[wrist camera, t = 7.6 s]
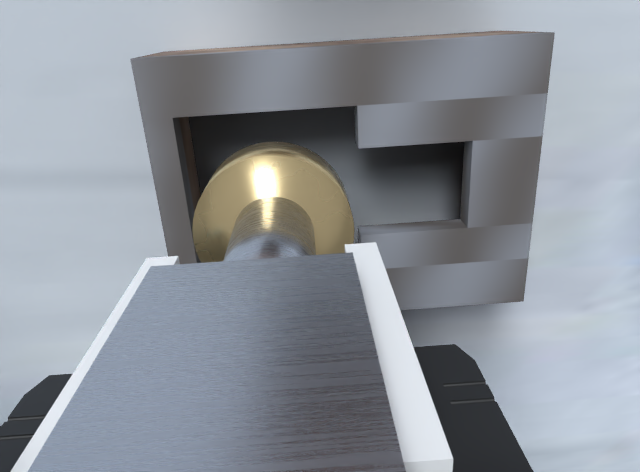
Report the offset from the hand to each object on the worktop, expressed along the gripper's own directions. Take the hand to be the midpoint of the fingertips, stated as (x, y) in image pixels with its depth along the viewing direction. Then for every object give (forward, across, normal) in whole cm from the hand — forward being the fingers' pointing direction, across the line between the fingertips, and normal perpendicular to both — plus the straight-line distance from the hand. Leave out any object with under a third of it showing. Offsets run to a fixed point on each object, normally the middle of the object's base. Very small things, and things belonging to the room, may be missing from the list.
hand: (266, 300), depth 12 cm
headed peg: (+6, 0, 0) cm, 6 cm away
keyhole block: (+13, +3, 0) cm, 13 cm away
